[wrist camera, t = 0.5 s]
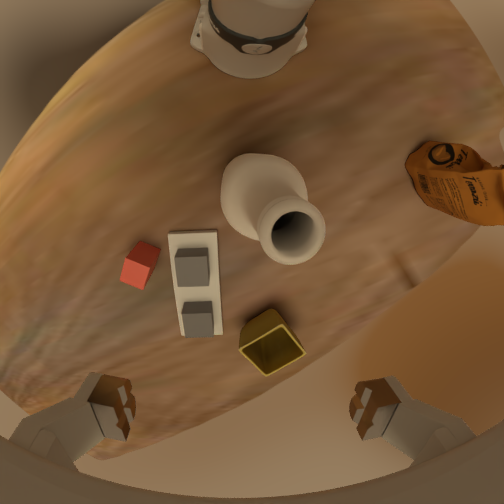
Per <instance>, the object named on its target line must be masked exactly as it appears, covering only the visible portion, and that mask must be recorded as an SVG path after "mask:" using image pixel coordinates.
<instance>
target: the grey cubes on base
mask: <svg viewBox="0 0 504 504" xmlns="http://www.w3.org/2000/svg"><path fill="white" fill-rule="evenodd" d="M168 241H169V251H170V260H171V268H172V276H173V284H174V291H175V298H176V305H177V311H178V318H179V324H180V330H181V335H185V338H191V337H214V335H222V334H223V325H222V311H221V296H220V280H219V262H218V242H217V230H199V231H176V232H169V233H168Z"/></svg>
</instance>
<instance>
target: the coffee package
mask: <svg viewBox="0 0 504 504" xmlns="http://www.w3.org/2000/svg"><path fill="white" fill-rule="evenodd" d="M405 167H406V169H407V171H408V172H409V174H410V175H411V177H412V179H413V181H414V185H415V189H416V191H417V193H418V194H419V195H420V197H421V198H422V199H423V201H424V202H425V204H426V205H427V206H430V207H432V208H435V209H438V210H440V211H442V212H444V213H447V214H449V215H451V216H454V217H456V218H459V219H462V220H465V221H467V222H470V223H474V224H478V225H482V226H495V225H504V165H500V167H497V166H495V167H492V166H491V164H490V163H488V162H487V161H485V160H484V159H482V158H481V157H480V155H479V154H478V153H477V152H476V151H475V150H473V149H472V148H471V147H469V146H466V145H463V144H454V143H442V142H435V141H428V142H427V143H424V144H423V145H422V147H421V148H420V149H418V150H417V151H416V152H414V153H412V154H410V155H409V158H408V159H407V161H406V163H405Z"/></svg>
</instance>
